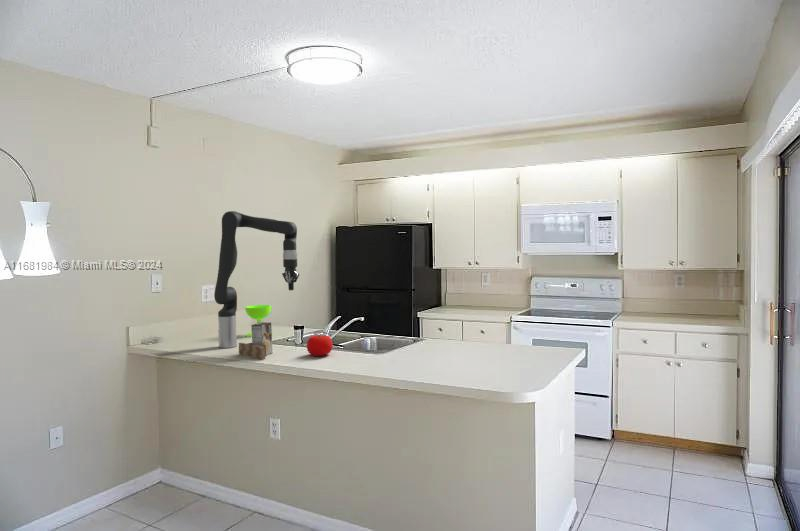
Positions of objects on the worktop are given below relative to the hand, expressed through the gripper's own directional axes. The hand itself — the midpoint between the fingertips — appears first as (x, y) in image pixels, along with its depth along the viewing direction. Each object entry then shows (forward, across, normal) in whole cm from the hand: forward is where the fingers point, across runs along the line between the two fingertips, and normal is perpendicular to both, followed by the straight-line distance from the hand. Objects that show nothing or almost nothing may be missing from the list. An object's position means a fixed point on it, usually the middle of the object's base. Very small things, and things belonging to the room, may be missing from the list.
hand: (291, 290), depth 310 cm
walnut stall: (+31, +6, -28) cm, 42 cm away
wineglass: (+31, -50, +11) cm, 60 cm away
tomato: (+31, +31, -6) cm, 44 cm away
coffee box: (+31, +6, -23) cm, 39 cm away
